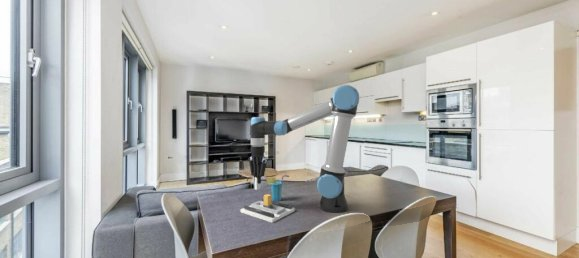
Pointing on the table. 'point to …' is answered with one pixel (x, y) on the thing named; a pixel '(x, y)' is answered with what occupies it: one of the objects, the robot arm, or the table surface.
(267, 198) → the lever
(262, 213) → the panel
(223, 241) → the table surface
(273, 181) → the cup
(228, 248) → the table surface
